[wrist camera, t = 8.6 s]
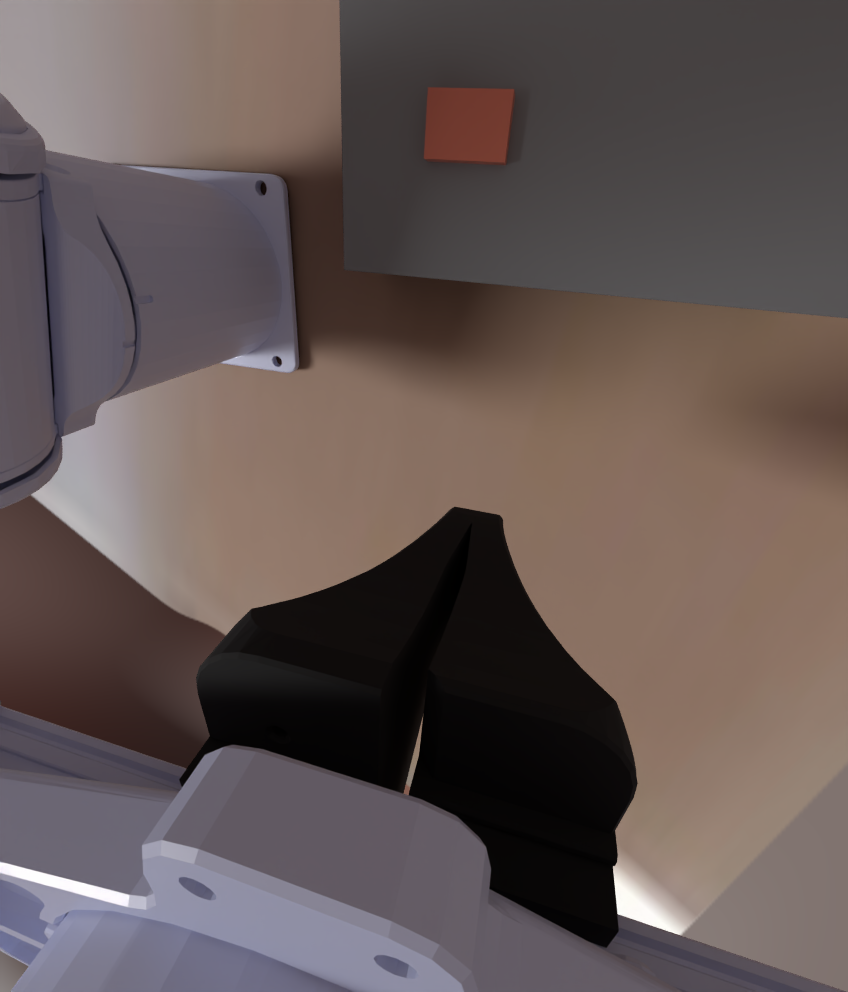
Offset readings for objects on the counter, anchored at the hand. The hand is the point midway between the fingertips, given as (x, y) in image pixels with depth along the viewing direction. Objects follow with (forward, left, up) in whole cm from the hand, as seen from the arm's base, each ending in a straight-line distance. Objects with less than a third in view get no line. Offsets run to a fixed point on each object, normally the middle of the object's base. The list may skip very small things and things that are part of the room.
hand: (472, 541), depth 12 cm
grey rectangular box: (+2, +10, -10) cm, 15 cm away
